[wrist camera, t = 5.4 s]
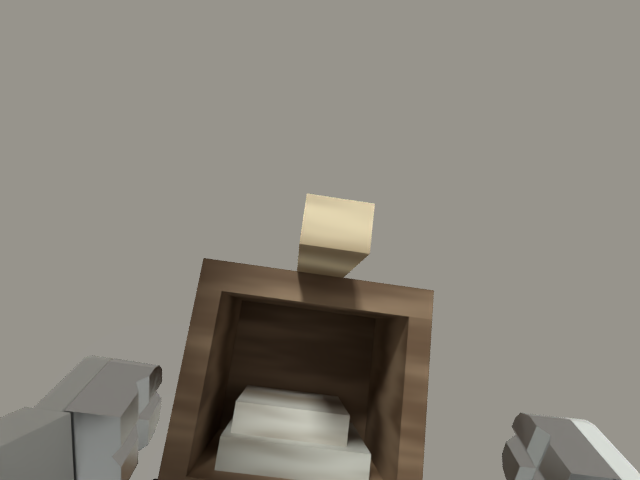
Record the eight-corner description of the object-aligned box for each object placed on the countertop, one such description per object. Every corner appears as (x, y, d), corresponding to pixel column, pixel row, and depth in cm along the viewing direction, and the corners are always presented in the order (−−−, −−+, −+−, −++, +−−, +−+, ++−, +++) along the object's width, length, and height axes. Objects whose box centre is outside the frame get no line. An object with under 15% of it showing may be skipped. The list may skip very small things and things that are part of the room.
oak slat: (369, 253, 17) (374, 203, 17) (299, 243, 17) (307, 193, 17) (328, 291, 36) (331, 267, 37) (295, 286, 36) (299, 262, 37)
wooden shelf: (404, 774, 20) (433, 290, 26) (102, 748, 19) (203, 258, 25) (363, 606, 31) (389, 300, 37) (174, 587, 31) (231, 279, 37)
